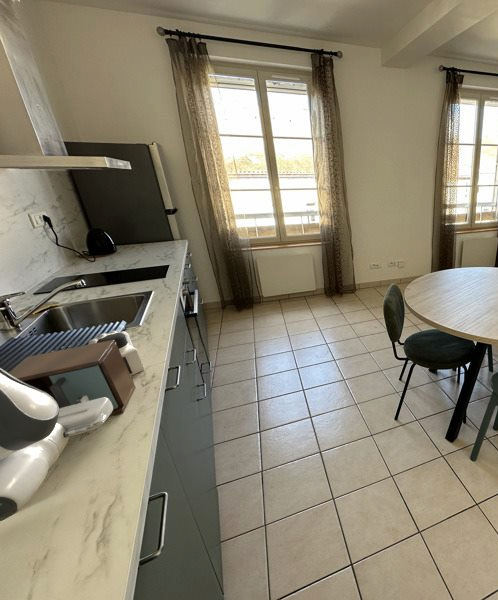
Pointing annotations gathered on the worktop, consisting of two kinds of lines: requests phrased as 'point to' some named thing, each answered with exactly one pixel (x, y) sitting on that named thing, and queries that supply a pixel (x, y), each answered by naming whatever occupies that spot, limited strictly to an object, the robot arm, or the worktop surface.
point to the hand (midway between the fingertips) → (66, 402)
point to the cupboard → (100, 354)
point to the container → (125, 352)
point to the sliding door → (80, 386)
